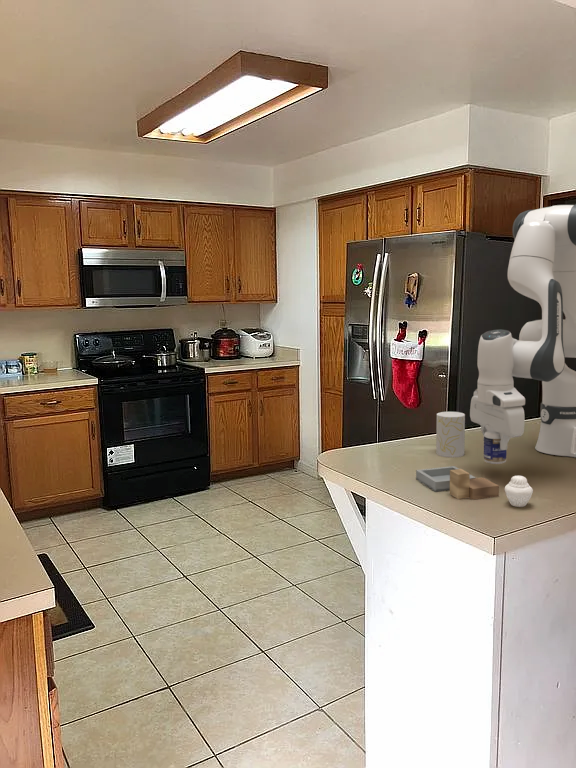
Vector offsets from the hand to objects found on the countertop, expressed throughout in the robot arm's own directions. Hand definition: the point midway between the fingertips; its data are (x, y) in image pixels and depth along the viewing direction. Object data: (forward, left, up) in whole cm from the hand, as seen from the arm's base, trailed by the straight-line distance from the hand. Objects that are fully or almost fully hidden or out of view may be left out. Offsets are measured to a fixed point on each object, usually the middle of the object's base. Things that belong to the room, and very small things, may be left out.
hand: (495, 445), depth 168 cm
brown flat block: (+11, +11, -9) cm, 18 cm away
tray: (+15, +1, -8) cm, 17 cm away
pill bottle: (0, 0, -4) cm, 4 cm away
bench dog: (+16, +11, -8) cm, 21 cm away
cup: (0, -24, -9) cm, 26 cm away
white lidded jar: (+7, +21, -9) cm, 24 cm away
